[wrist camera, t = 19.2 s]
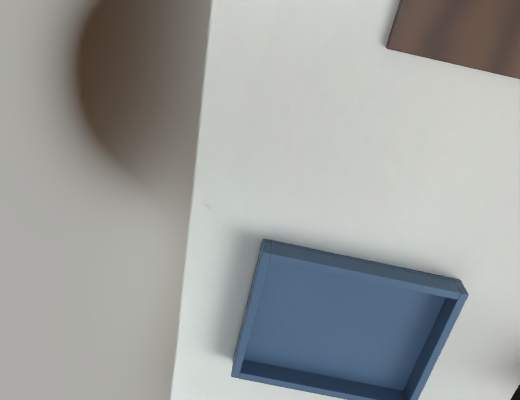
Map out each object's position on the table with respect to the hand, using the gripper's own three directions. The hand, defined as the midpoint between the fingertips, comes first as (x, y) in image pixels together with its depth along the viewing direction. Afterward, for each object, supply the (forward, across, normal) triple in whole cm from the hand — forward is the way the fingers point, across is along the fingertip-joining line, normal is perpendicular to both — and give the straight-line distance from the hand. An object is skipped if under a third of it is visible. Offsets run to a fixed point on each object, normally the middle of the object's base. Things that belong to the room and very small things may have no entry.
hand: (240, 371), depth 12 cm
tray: (+32, +12, -22) cm, 40 cm away
